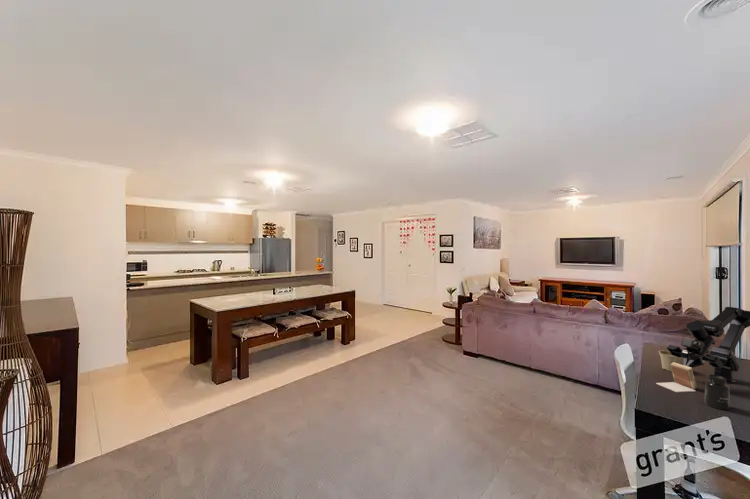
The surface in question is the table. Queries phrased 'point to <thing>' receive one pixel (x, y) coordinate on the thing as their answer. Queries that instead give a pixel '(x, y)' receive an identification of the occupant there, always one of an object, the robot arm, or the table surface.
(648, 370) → the table surface
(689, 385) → the maple tile
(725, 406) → the supplement bottle
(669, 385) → the felt mat
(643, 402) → the table surface
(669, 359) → the flower pot
